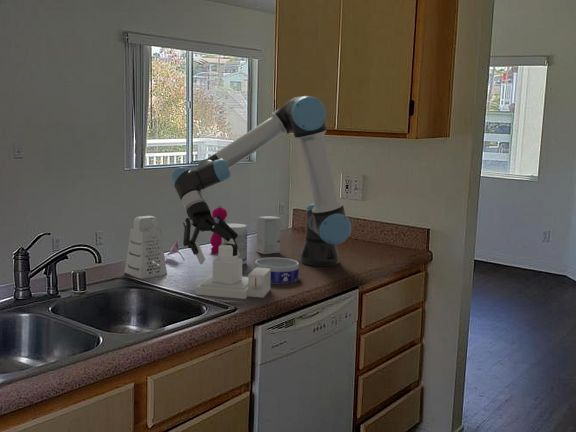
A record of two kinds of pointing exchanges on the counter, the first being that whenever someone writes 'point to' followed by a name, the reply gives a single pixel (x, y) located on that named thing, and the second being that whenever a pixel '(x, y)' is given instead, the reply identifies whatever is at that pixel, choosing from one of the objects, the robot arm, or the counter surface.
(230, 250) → the medicine bottle
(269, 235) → the skincare box
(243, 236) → the supplement tub
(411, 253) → the counter surface
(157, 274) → the grater
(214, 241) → the pepper mill
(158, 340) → the counter surface
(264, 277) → the kitchen scale
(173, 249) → the lily
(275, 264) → the dog bowl
